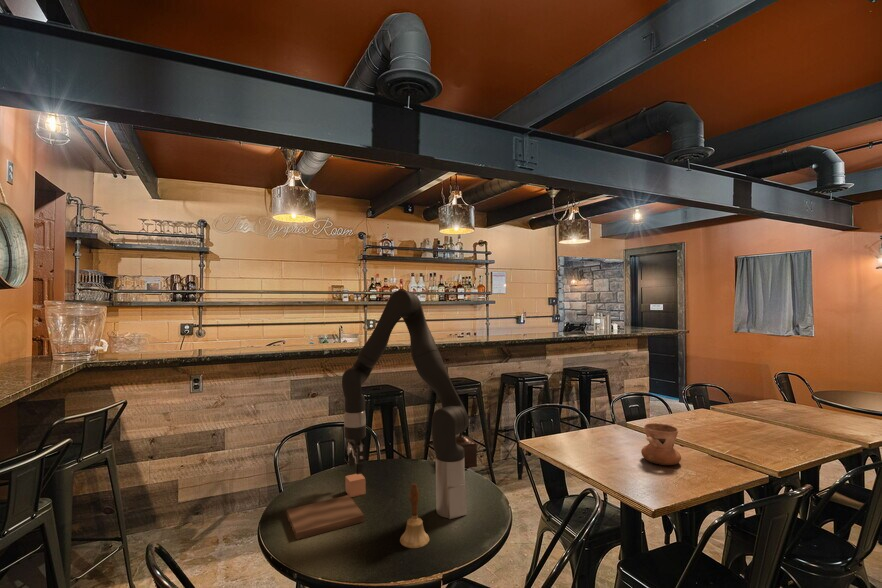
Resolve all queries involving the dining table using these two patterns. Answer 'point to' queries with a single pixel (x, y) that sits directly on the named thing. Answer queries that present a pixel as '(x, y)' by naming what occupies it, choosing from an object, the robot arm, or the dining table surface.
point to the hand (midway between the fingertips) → (355, 469)
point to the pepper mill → (468, 450)
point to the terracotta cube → (355, 485)
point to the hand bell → (414, 524)
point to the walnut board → (324, 516)
